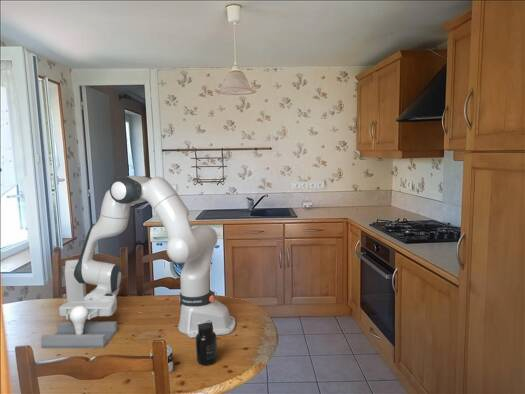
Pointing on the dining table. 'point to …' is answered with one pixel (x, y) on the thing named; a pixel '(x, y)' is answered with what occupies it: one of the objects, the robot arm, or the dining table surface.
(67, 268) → the milk carton
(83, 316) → the lightbulb
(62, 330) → the trough
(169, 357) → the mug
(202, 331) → the supplement bottle
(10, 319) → the dining table surface
